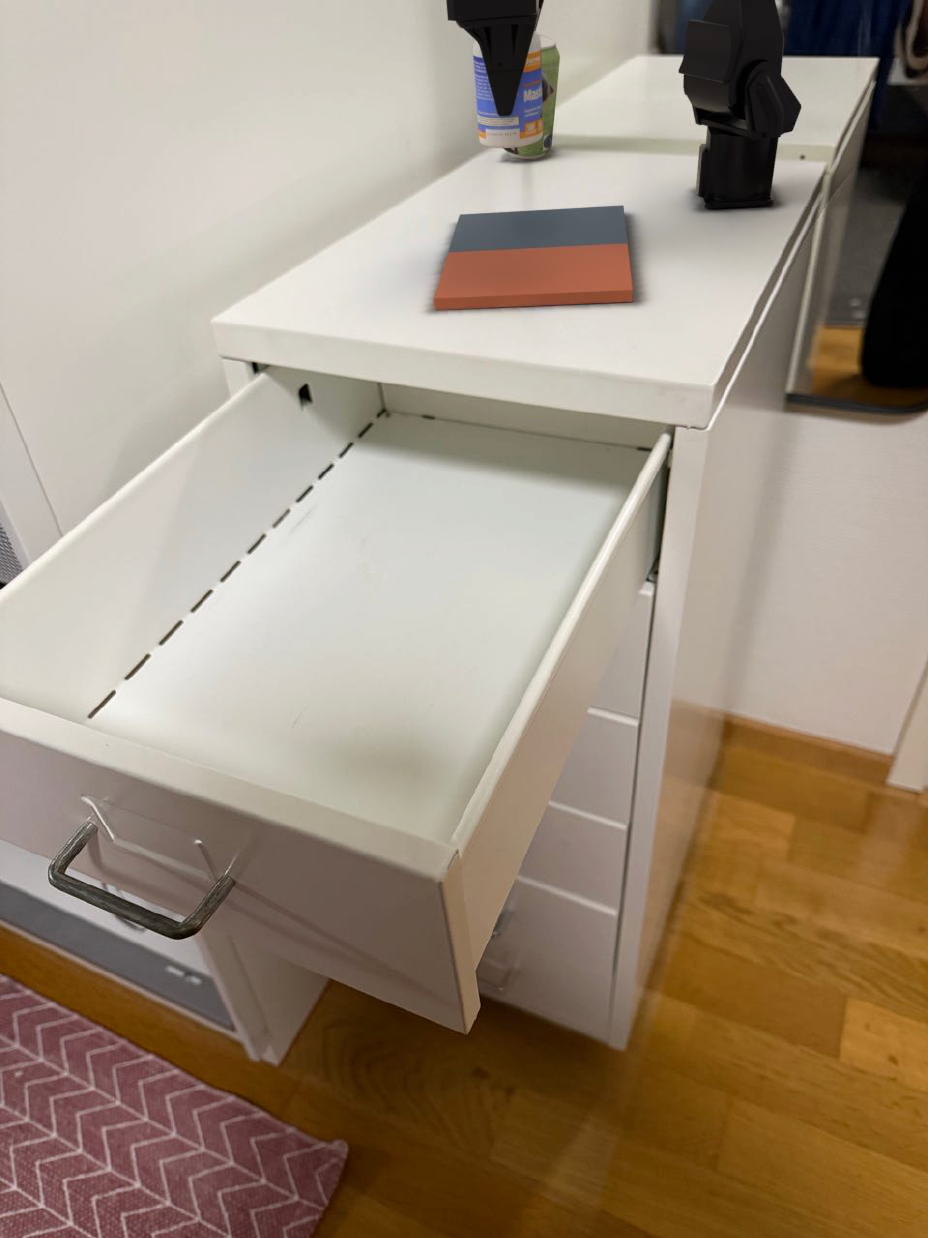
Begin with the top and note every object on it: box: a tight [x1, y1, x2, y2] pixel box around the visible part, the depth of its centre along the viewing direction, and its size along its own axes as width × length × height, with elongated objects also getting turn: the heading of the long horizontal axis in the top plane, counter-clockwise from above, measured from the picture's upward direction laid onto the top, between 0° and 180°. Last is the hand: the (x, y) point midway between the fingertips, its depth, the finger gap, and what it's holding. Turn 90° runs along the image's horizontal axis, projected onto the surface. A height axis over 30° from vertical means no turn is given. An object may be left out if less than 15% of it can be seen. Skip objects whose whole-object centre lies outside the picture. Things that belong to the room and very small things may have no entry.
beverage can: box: [502, 34, 561, 160], centre depth 100 cm, size 6×7×12 cm
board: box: [433, 205, 634, 311], centre depth 78 cm, size 16×21×1 cm
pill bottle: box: [472, 31, 543, 149], centre depth 70 cm, size 5×5×10 cm
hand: (507, 106), depth 72 cm, fingers closed on pill bottle, 5 cm apart
